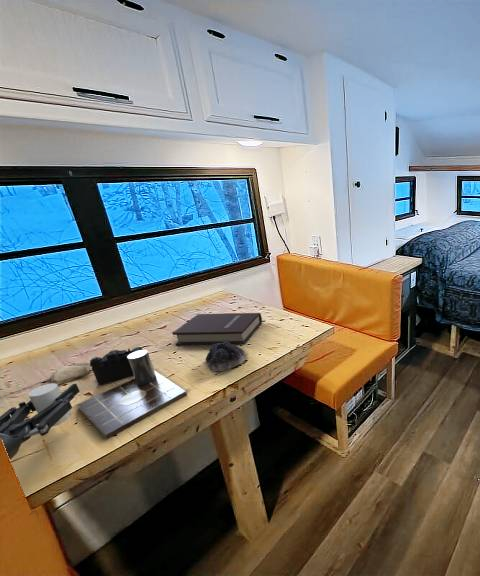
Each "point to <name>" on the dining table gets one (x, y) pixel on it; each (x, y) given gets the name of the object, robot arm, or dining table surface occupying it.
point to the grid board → (129, 404)
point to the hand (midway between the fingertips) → (63, 389)
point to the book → (218, 329)
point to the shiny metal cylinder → (141, 367)
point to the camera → (112, 366)
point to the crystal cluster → (224, 356)
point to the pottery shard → (69, 373)
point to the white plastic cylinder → (46, 399)
